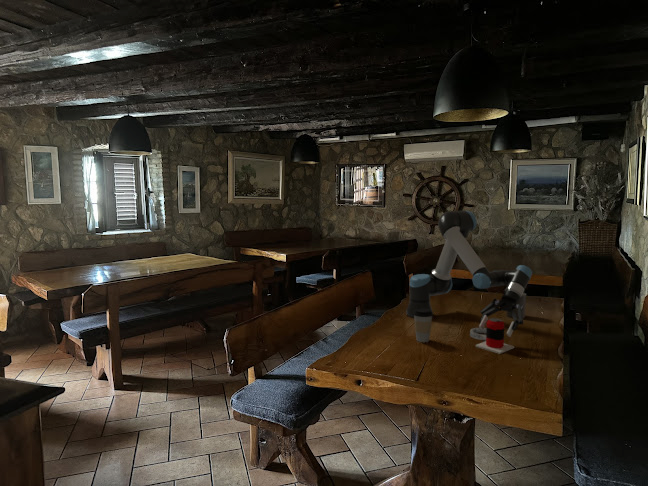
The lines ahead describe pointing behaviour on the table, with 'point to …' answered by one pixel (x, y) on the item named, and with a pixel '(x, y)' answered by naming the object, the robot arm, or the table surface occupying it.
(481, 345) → the cream coaster
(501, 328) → the soda can
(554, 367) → the table surface
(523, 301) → the pillar candle
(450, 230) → the robot arm
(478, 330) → the steel ring holder
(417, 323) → the coffee cup
